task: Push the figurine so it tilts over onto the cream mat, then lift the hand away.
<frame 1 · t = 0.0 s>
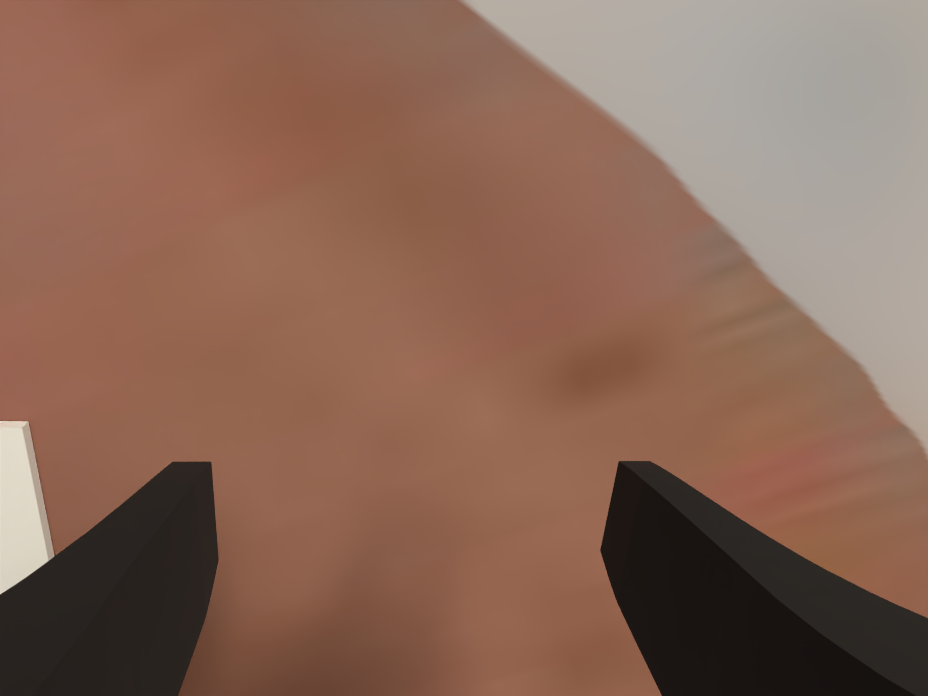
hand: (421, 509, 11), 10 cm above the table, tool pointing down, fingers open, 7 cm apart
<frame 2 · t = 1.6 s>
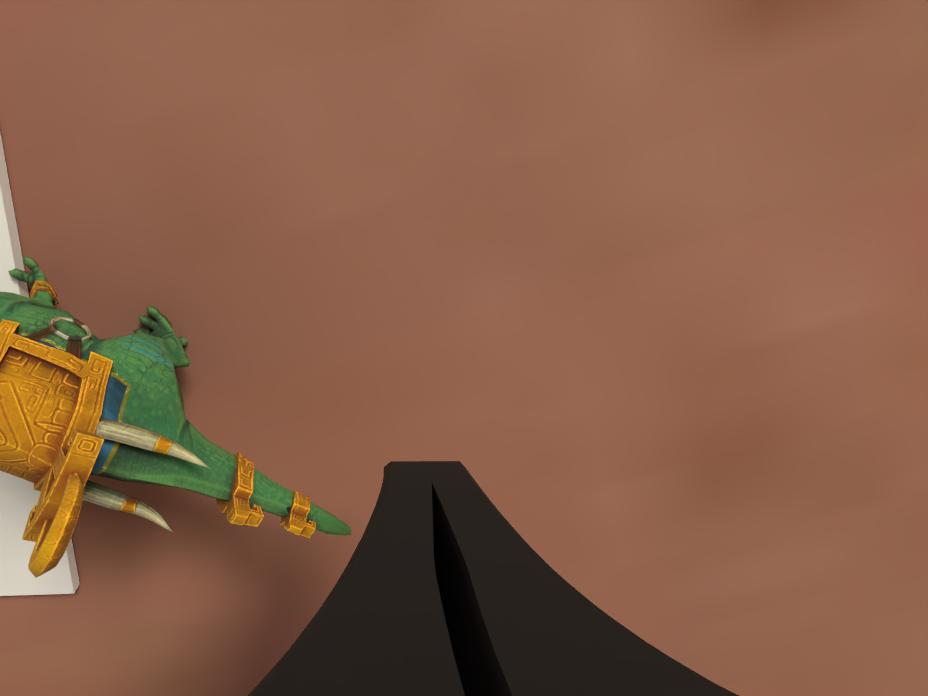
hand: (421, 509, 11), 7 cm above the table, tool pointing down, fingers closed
figurine: (138, 343, 17), on the table, touching cream mat
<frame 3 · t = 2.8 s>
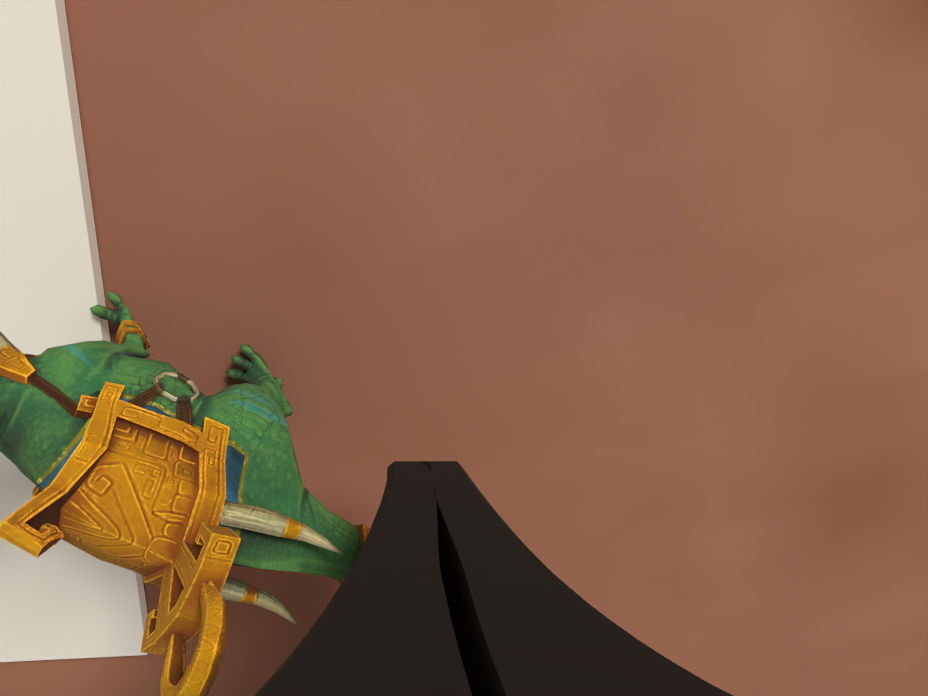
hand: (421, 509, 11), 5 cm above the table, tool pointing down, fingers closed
figurine: (227, 384, 15), on the table, touching cream mat, gripper
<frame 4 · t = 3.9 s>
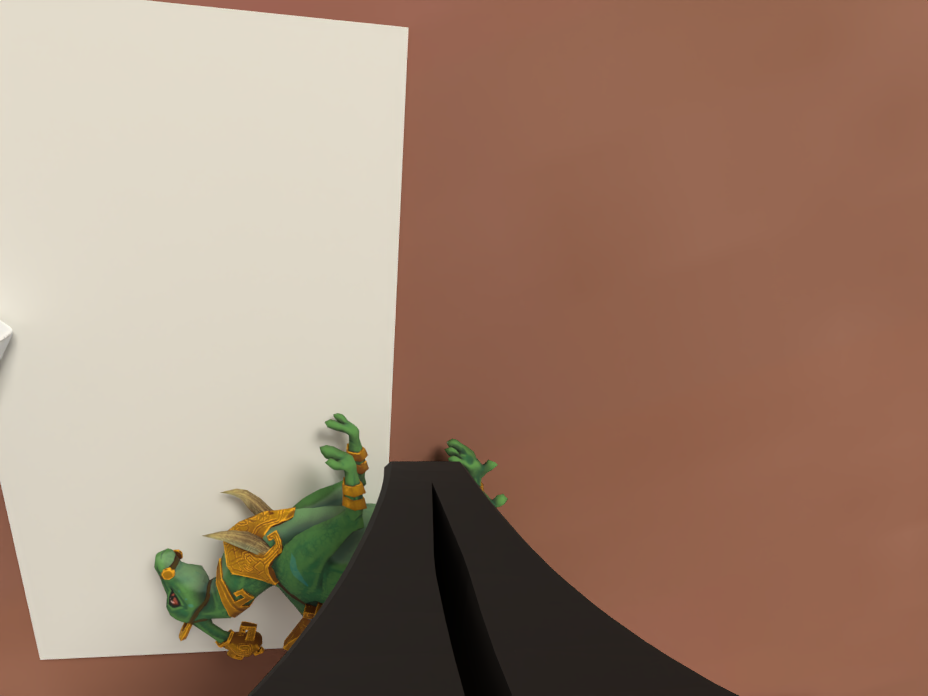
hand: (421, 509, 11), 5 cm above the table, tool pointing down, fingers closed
figurine: (464, 458, 15), point 2 cm above the table, touching cream mat
cream mat: (199, 385, 15), on the table
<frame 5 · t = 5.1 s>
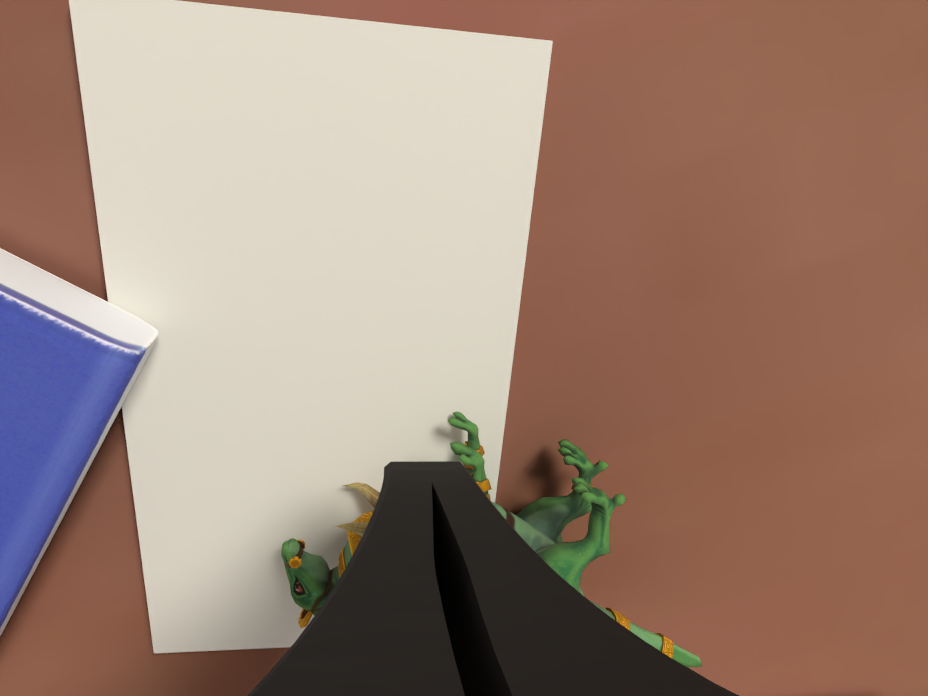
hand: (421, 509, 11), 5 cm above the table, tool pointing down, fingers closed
figurine: (582, 458, 15), point 2 cm above the table, touching cream mat
cream mat: (324, 386, 15), on the table
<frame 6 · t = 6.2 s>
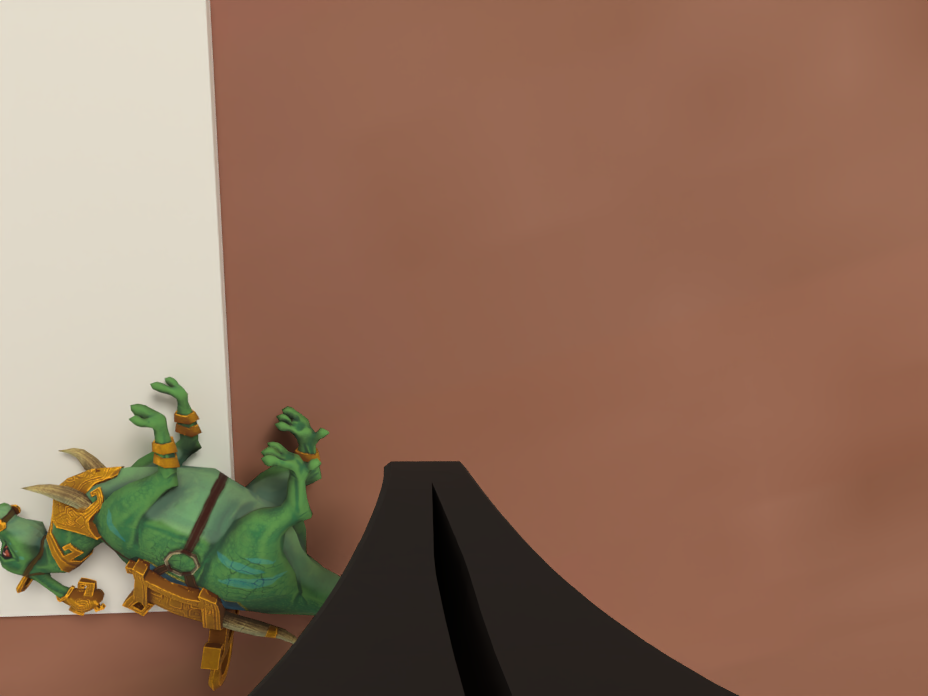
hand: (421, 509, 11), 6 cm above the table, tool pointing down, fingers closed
figurine: (285, 423, 15), point 2 cm above the table, touching cream mat
cream mat: (33, 350, 15), on the table
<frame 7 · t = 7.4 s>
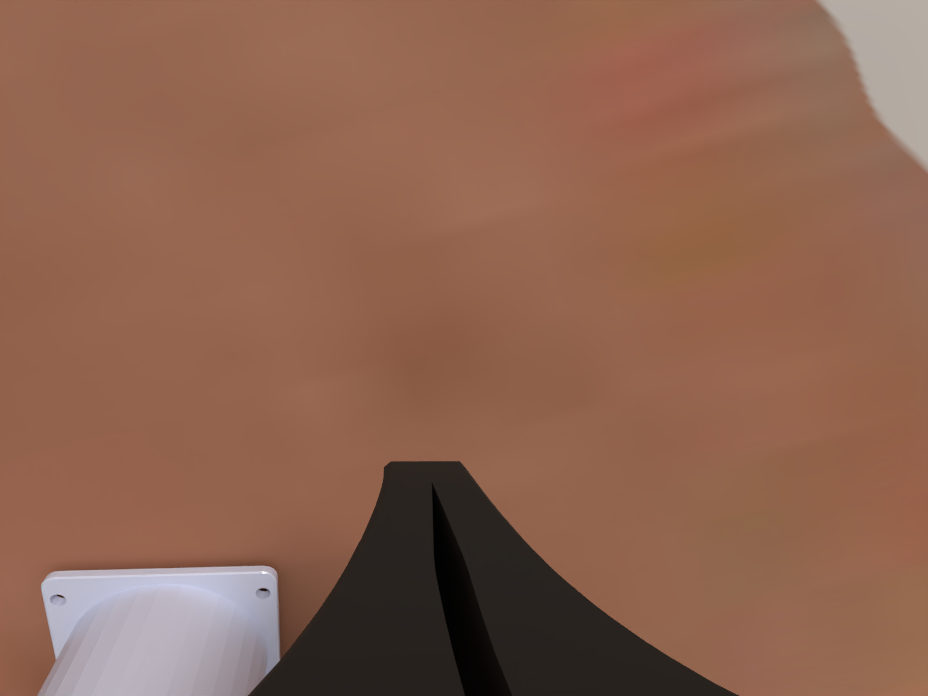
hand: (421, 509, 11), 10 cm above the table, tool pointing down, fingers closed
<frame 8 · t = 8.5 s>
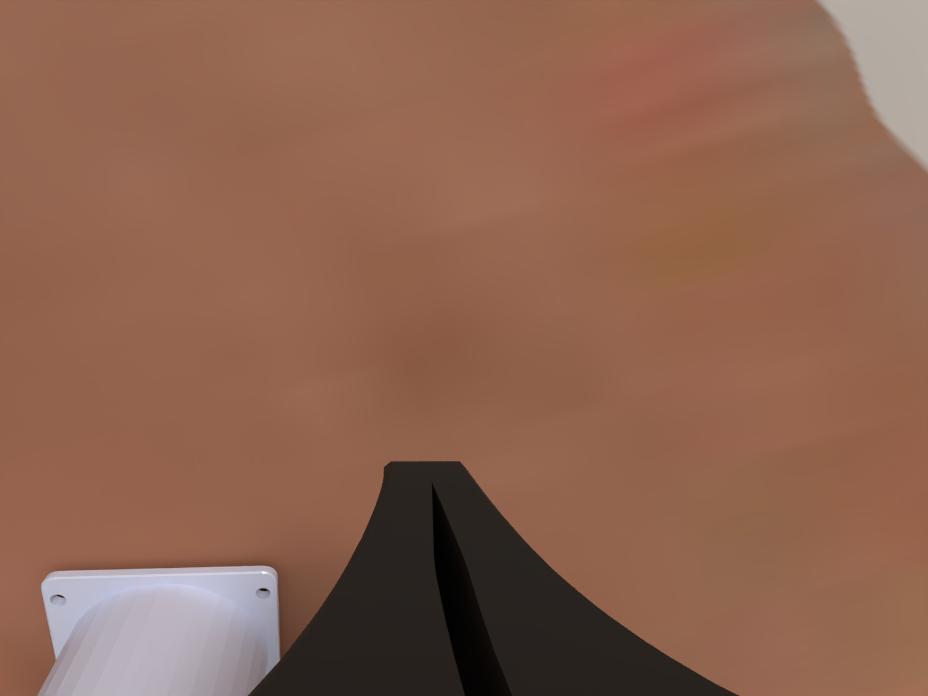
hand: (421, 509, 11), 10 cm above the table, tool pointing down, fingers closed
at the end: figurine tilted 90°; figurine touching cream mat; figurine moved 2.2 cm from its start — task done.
